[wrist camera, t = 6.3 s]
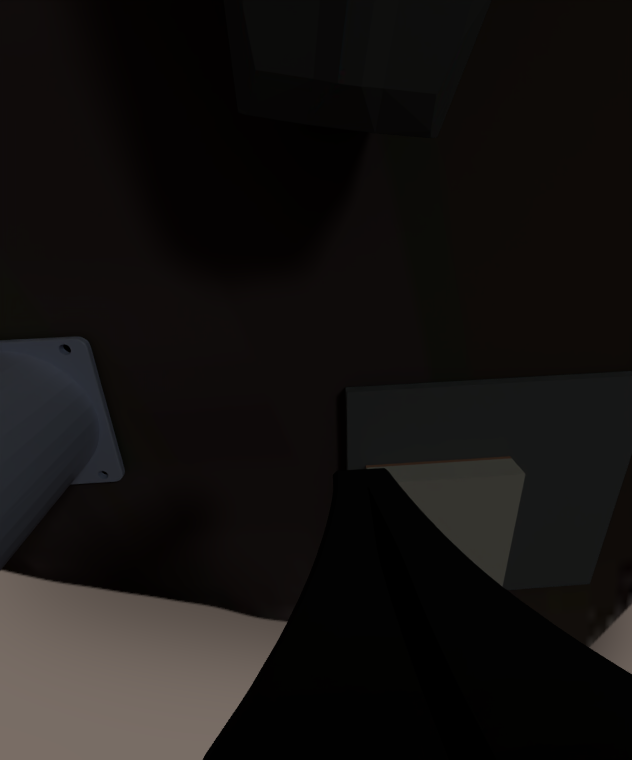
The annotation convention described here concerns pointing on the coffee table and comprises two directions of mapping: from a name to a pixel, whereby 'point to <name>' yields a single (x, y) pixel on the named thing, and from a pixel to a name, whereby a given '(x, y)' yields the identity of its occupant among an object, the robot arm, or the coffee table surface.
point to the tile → (468, 504)
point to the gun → (352, 61)
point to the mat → (515, 454)
